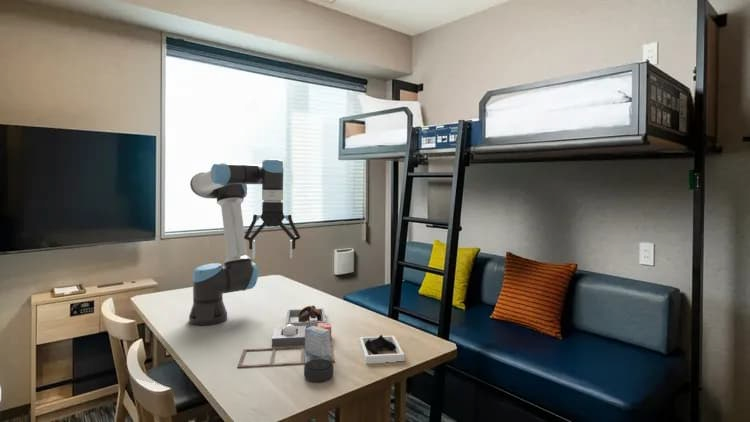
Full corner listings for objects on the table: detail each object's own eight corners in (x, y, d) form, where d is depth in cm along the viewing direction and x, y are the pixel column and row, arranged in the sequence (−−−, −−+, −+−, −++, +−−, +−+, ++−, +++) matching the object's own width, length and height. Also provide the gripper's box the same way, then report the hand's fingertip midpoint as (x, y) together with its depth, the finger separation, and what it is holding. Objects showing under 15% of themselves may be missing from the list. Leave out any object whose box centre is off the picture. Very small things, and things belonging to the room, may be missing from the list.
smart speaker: (311, 368, 134) (311, 356, 134) (337, 372, 132) (337, 360, 131) (299, 381, 126) (299, 368, 126) (326, 385, 123) (326, 372, 123)
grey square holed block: (271, 346, 151) (271, 338, 151) (274, 334, 163) (274, 326, 162) (305, 345, 153) (305, 337, 153) (305, 333, 165) (305, 325, 164)
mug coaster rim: (285, 329, 168) (285, 323, 168) (287, 315, 186) (287, 309, 186) (325, 327, 171) (325, 321, 171) (323, 313, 188) (323, 308, 188)
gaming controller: (391, 354, 151) (380, 339, 154) (397, 347, 149) (386, 331, 152) (371, 363, 143) (359, 346, 146) (377, 355, 141) (365, 338, 144)
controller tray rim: (365, 363, 138) (365, 356, 137) (359, 343, 154) (359, 337, 154) (404, 361, 140) (404, 354, 140) (393, 342, 157) (393, 335, 156)
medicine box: (330, 354, 144) (330, 329, 144) (321, 358, 140) (322, 333, 140) (313, 348, 149) (313, 325, 148) (304, 353, 145) (304, 328, 144)
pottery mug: (323, 328, 172) (313, 312, 169) (303, 337, 173) (293, 322, 170) (325, 311, 183) (316, 297, 181) (306, 320, 184) (297, 305, 182)
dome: (282, 341, 155) (282, 327, 154) (283, 336, 160) (283, 322, 159) (296, 341, 156) (296, 326, 155) (296, 336, 161) (296, 322, 160)
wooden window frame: (237, 368, 134) (237, 366, 133) (243, 350, 147) (243, 349, 147) (334, 362, 139) (334, 361, 138) (332, 345, 152) (332, 344, 152)
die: (317, 340, 157) (317, 326, 156) (317, 335, 162) (317, 321, 161) (331, 340, 158) (331, 325, 157) (330, 335, 163) (330, 321, 162)
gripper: (235, 201, 149) (236, 260, 151) (306, 202, 153) (306, 259, 155) (239, 200, 156) (239, 256, 158) (306, 201, 161) (306, 255, 163)
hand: (272, 257), depth 157 cm, fingers open, 13 cm apart
